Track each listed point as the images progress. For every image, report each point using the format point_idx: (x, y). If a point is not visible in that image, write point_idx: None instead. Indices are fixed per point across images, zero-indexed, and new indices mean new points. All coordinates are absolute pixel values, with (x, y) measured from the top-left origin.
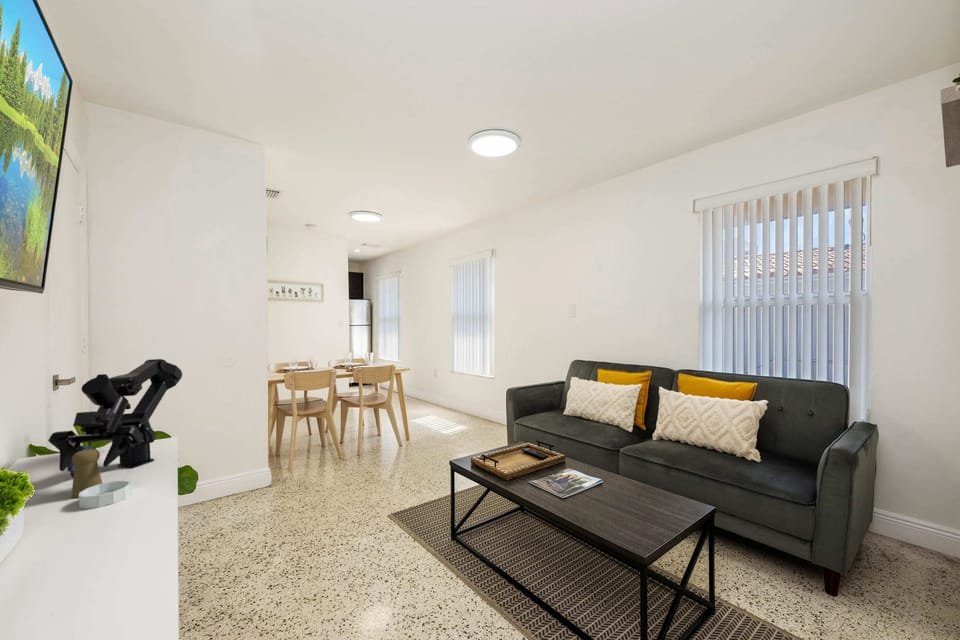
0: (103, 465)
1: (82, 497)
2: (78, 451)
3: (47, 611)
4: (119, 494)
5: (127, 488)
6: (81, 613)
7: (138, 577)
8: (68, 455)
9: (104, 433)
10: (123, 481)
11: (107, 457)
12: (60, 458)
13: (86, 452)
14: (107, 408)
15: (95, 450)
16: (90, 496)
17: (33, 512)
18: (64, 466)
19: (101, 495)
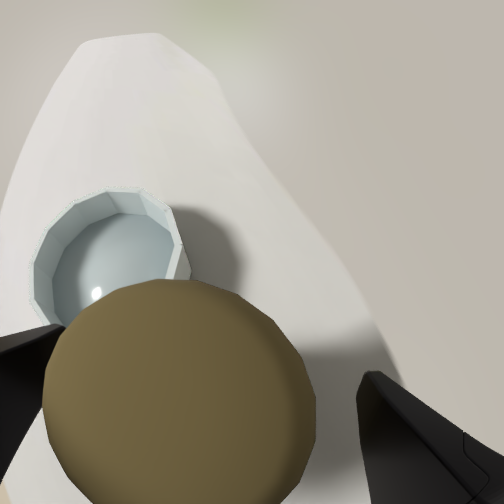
0: (65, 328)
1: (155, 198)
2: None
3: (140, 39)
4: (65, 226)
5: (42, 250)
6: (119, 40)
7: (85, 59)
8: (412, 496)
9: None
10: (48, 319)
11: (16, 338)
12: (444, 421)
13: (110, 323)
14: None
15: (46, 400)
16: (129, 187)
17: (331, 258)
18: (367, 407)
19: (100, 191)
